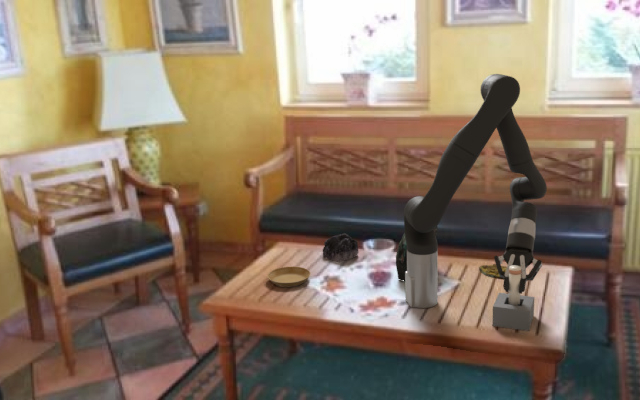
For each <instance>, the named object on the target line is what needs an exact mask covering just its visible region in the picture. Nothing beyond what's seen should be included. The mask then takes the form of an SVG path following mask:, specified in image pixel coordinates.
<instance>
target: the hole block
mask: <svg viewBox="0 0 640 400" xmlns="http://www.w3.org/2000/svg"><path fill="white" fill-rule="evenodd" d="M508 302H509V293H508V292H498V294H497V297H496V298H495V301H494V303H493V305H492V325H491V326H493V327H496V328H505V329H513V330H520V331H527V332H529V331H530V329H531V327H532V322H533V319H534V315H535V296H530V295H529V296H528V295H522V294H520V306H516V305H508Z"/></svg>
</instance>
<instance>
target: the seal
mask: <svg viewBox="0 0 640 400" xmlns="http://www.w3.org/2000/svg"><path fill="white" fill-rule="evenodd" d="M501 268H502V271H503V272H506V269H507V266H505V265H501ZM478 269H479V271H480V273H481V274H483V275H484V276H487V277H490V278H494V279H500V280H504V278H503V277H500V276H499V273H498V269H497V266H496V263H494V264H489V265H488V264H485V265H480V266H478ZM521 277H522V276H521Z"/></svg>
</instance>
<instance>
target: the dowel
mask: <svg viewBox="0 0 640 400" xmlns="http://www.w3.org/2000/svg"><path fill="white" fill-rule="evenodd" d="M520 279H521V267H520V266H517V265H512V266H510V267H509V291H508V294H509V302H508V305H516V306H520V295H521V294H520V293H519V286H520Z"/></svg>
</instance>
